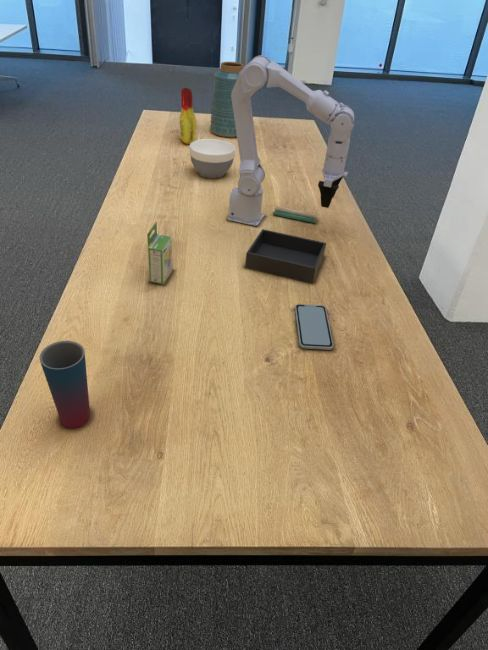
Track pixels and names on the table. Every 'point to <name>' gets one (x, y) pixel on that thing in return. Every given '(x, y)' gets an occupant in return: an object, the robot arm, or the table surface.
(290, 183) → the table surface
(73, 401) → the cup
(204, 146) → the bowl
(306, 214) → the straws
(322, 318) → the smartphone
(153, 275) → the ink box
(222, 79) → the vase
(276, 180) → the table surface
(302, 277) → the bin
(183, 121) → the bottle
